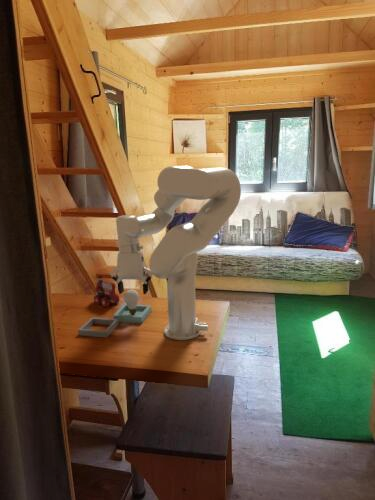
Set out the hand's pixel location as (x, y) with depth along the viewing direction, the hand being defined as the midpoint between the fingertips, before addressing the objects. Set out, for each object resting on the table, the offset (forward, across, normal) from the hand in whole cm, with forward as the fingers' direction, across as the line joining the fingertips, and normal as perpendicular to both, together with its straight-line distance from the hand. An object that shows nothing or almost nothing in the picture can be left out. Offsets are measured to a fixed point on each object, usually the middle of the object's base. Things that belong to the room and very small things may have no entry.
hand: (133, 292), depth 142 cm
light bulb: (+9, +1, -1) cm, 9 cm away
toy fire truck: (+9, +17, -12) cm, 23 cm away
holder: (+10, +9, +12) cm, 18 cm away
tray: (+10, +1, -1) cm, 10 cm away
